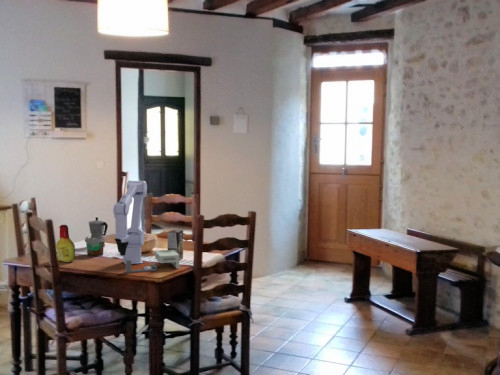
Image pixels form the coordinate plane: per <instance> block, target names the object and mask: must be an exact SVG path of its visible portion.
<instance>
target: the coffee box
mask: <svg viewBox="0 0 500 375" xmlns="http://www.w3.org/2000/svg"><path fill="white" fill-rule="evenodd" d="M167 250H174V251H175V252H176V253H177V254H178V255H179V262H180V261H182V260H183V259H184V230H183V229H172V230H170V231H167Z"/></svg>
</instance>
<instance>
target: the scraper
mask: <svg viewBox="0 0 500 375" xmlns="http://www.w3.org/2000/svg"><path fill="white" fill-rule="evenodd" d="M151 266H153V267H154V269H132V264H131V260H126V264H125V273H126V274H131V273H144V272H147V273H148V272H157V270H158V266H157V265H156V263H154V262H152V263H151Z"/></svg>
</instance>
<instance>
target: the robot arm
mask: <svg viewBox="0 0 500 375" xmlns="http://www.w3.org/2000/svg"><path fill="white" fill-rule="evenodd" d="M147 191H148V184H147V182H146V181H145V180H128V181H127V182H126V193H125V194H122V196H121V197H120V199H119V201H118V203H116V204H115V203H114V206H113V210H112V212H113V215H114V219H115V223H114V224H115V236H114V237H115V238H114V241H115V243H116V247H117V252H118V253H119V254H120V256H123V257H122V261H123V263H124V265H126V260H131V265H134V264H137V265H138V264H143V263H144V262H143V260H142V246H144V244H145V240H146V239H145V232H144V230H143V229H141V222H142V221H141V220H142V210H143V203H144V198H146V197H147ZM132 203H133V204H132ZM131 204H132V213H131V222H130V227H129V228H128V215H129V211H130V206H131Z"/></svg>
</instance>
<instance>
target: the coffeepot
mask: <svg viewBox="0 0 500 375" xmlns="http://www.w3.org/2000/svg"><path fill="white" fill-rule="evenodd" d="M88 225H89V226H88V227H89V232H90V234H91V236H90V238H98V239H101V238H104V236H106V235H107V231H108V226H109V225H108V224H107V222H106V221H102V220H99V217H95V220H91V221H88ZM104 247H106V244H105V242H104Z"/></svg>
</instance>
